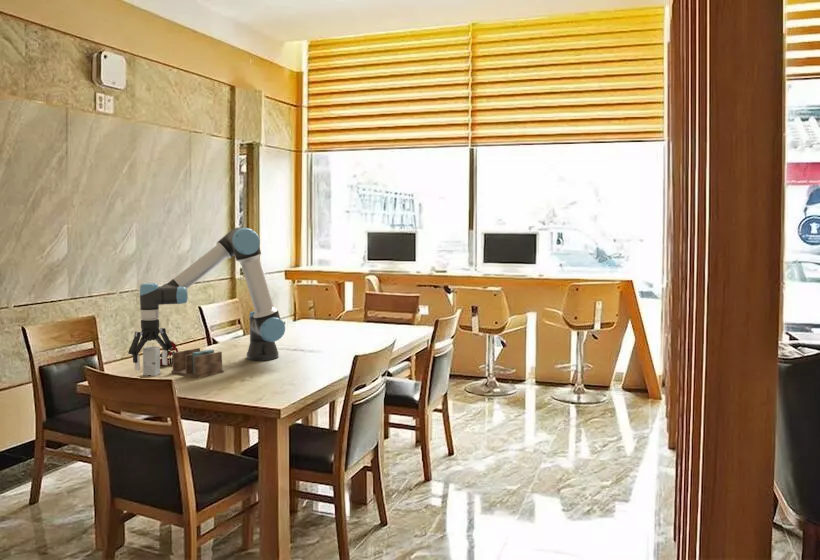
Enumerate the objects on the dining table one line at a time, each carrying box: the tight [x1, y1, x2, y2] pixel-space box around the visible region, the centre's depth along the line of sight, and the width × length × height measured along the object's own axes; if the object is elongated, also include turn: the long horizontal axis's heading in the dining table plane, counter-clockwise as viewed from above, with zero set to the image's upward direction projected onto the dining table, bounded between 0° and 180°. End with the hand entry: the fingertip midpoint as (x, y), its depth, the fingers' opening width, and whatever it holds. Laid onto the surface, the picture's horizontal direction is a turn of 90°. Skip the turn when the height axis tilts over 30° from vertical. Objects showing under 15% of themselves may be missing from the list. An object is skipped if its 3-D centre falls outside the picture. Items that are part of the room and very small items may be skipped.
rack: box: [171, 347, 225, 379], centre depth 312 cm, size 14×18×10 cm
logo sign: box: [160, 340, 179, 366], centre depth 330 cm, size 18×4×11 cm, turn 117°
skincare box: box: [142, 345, 161, 377], centre depth 308 cm, size 6×4×12 cm
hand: (151, 367), depth 309 cm, fingers open, 13 cm apart
